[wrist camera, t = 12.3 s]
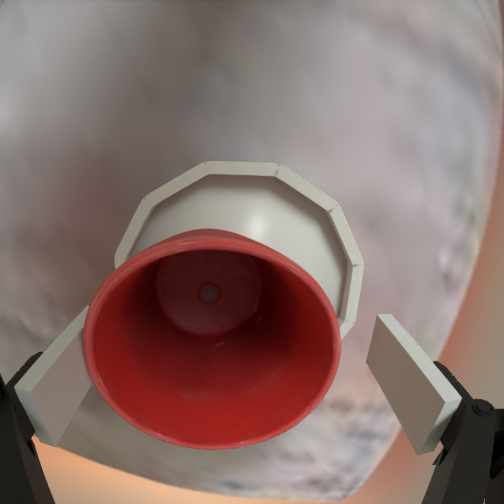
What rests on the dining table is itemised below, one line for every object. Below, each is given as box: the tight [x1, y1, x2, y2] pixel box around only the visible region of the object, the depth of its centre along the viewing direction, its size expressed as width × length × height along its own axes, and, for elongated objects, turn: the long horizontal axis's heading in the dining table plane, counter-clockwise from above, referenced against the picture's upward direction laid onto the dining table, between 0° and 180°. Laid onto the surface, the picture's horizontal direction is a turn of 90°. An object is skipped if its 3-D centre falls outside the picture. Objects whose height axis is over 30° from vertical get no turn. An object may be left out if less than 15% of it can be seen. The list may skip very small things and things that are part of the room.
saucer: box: [114, 161, 364, 340], centre depth 22 cm, size 17×17×2 cm
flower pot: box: [83, 228, 341, 450], centre depth 17 cm, size 11×11×10 cm
